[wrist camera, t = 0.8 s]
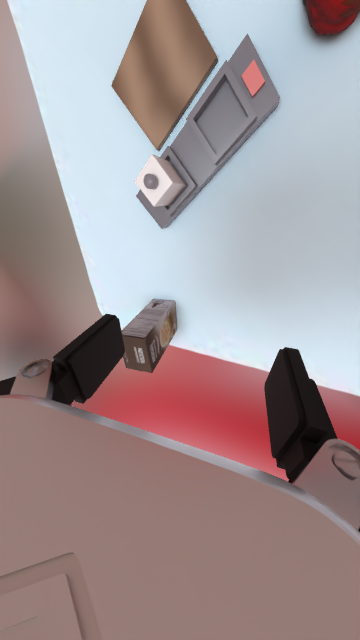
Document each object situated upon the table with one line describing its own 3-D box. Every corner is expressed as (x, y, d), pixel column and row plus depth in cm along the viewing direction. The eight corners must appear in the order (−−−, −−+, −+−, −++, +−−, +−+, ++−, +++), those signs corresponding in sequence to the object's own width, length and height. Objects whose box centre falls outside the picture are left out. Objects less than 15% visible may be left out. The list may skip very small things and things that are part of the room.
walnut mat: (166, -31, 21) (163, -40, 20) (218, 61, 23) (216, 56, 23) (115, 88, 28) (111, 85, 27) (158, 150, 30) (156, 149, 29)
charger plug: (171, 162, 28) (147, 152, 22) (187, 185, 29) (169, 182, 23) (155, 184, 31) (129, 180, 24) (171, 205, 32) (150, 206, 25)
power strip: (247, 48, 22) (247, 23, 19) (277, 105, 24) (281, 91, 21) (142, 196, 35) (131, 195, 31) (166, 227, 36) (158, 230, 33)
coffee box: (178, 330, 50) (153, 375, 37) (157, 327, 52) (126, 369, 39) (175, 299, 45) (145, 340, 32) (152, 297, 47) (114, 334, 34)
